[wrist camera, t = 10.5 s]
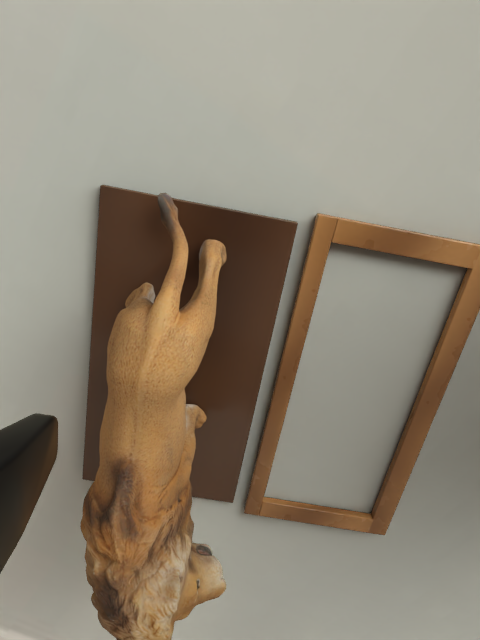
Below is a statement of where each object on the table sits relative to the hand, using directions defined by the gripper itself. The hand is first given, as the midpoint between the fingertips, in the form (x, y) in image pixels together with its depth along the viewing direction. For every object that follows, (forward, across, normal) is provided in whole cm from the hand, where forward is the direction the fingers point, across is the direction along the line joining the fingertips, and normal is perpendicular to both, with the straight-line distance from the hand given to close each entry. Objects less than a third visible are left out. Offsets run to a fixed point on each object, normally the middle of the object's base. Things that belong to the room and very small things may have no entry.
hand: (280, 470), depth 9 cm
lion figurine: (+11, +3, +4) cm, 12 cm away
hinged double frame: (+11, -1, +4) cm, 12 cm away
